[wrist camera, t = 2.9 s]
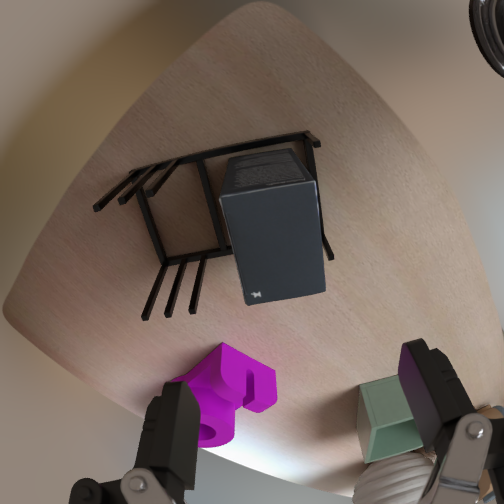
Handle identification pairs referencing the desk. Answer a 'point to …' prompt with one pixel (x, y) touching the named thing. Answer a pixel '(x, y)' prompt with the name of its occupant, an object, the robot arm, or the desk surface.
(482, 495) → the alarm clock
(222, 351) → the magenta mechanical bracket
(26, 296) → the desk surface
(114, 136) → the desk surface
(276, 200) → the box
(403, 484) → the table lamp
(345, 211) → the desk surface
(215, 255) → the rack
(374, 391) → the green storage bin
